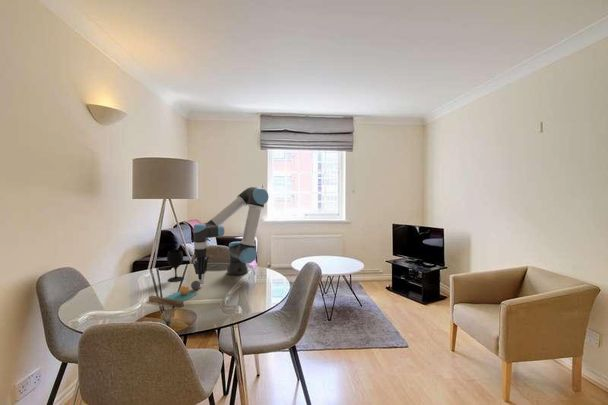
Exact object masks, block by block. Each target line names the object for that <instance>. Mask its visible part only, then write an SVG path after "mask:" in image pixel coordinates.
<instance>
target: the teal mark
mask: <svg viewBox="0 0 608 405" xmlns="http://www.w3.org/2000/svg"><path fill="white" fill-rule="evenodd" d="M197 295H198V293H196V292H191V291H189V292H188V293H187V294H186V295H181V294H180V292H179V290H178V291H177V292H174V293H172V294H169V295H168V296H165V297H164V298H168V299H173V300H177V301H182V302H183V303H184V301H187V300H189V299H191V298H192V297H195V296H197Z"/></svg>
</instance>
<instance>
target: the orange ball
mask: <svg viewBox="0 0 608 405" xmlns="http://www.w3.org/2000/svg"><path fill="white" fill-rule="evenodd" d="M178 291H179V292H180V294H181V295H186V294H187V293H188V292H190V288H189V286H187V285H182V286H181V287H180V288H179V290H178Z"/></svg>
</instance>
